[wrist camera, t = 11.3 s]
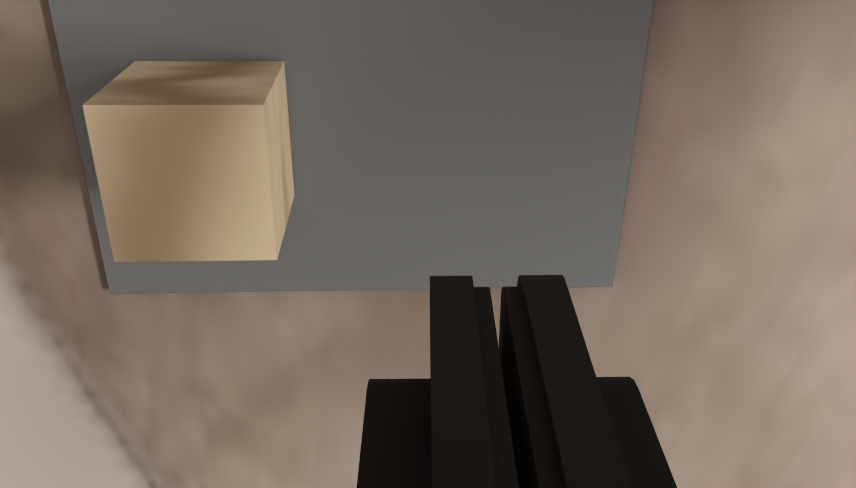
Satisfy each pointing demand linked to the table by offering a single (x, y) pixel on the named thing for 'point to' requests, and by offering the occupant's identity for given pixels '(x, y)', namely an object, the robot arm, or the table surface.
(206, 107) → the cube
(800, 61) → the table surface
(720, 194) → the table surface
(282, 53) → the mat
